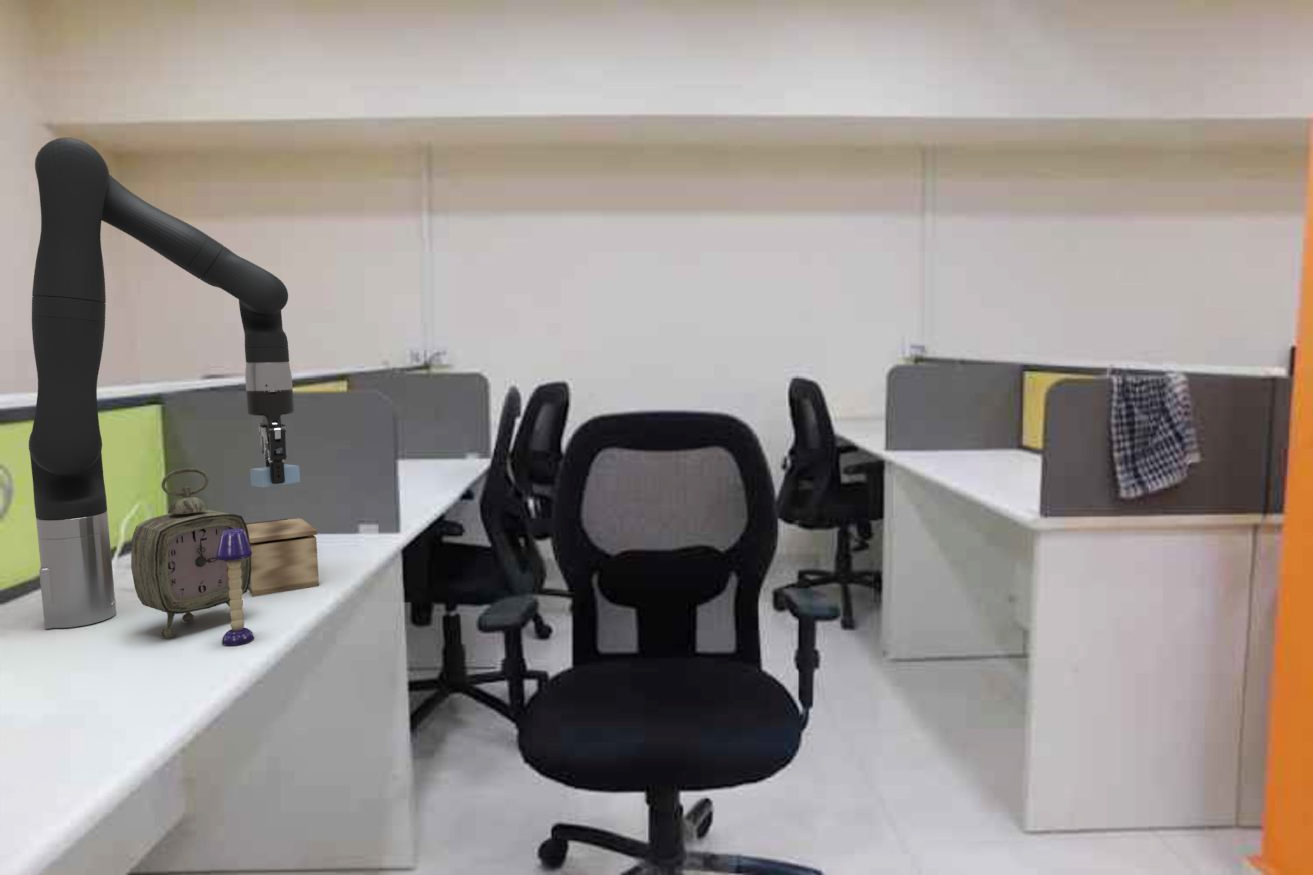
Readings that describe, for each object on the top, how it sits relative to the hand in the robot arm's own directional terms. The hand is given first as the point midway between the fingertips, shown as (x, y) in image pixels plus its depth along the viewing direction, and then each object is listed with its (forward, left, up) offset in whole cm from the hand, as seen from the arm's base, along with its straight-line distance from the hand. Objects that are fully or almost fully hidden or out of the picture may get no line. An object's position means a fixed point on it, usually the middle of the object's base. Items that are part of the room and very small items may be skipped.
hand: (275, 480), depth 144 cm
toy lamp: (-10, -27, -20) cm, 35 cm away
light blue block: (0, 0, -1) cm, 0 cm away
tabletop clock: (-15, -15, -20) cm, 29 cm away
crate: (0, +4, -20) cm, 20 cm away
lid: (0, +4, -10) cm, 11 cm away
